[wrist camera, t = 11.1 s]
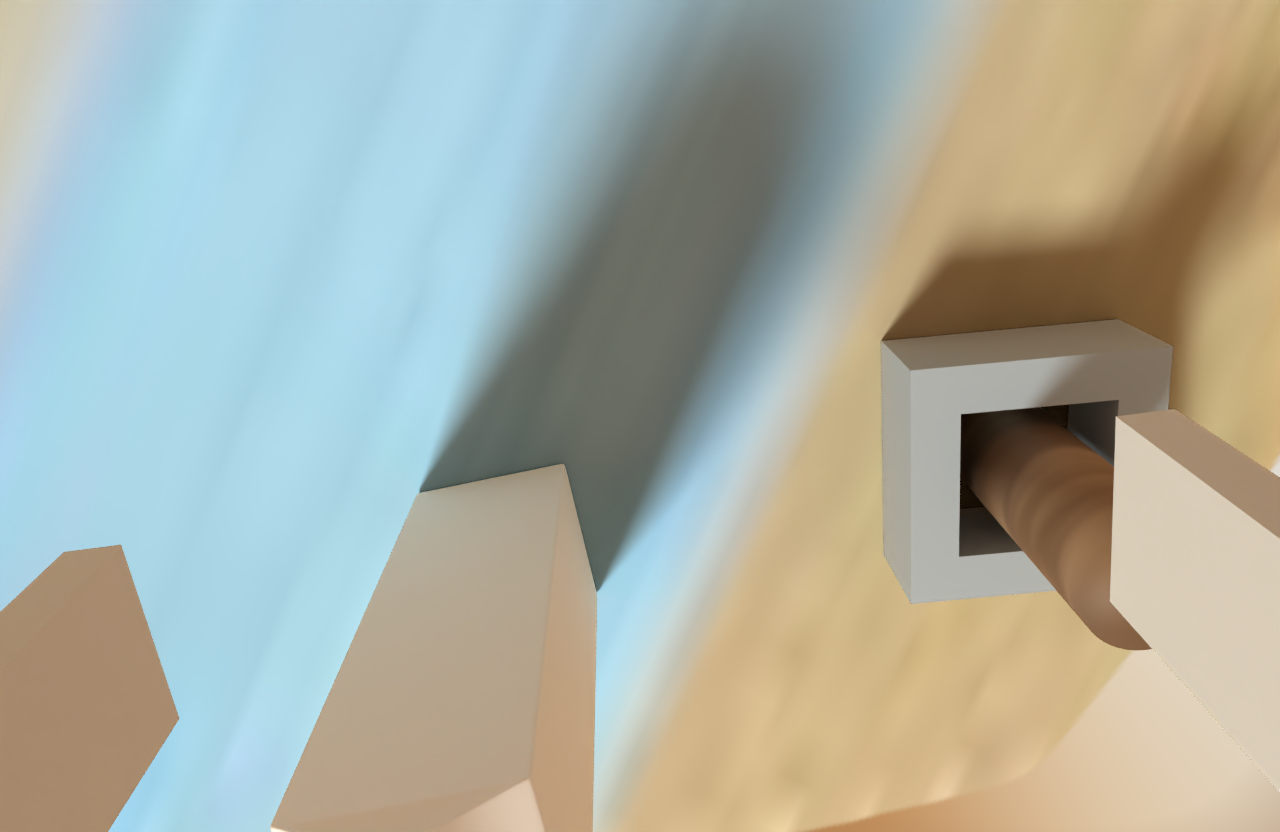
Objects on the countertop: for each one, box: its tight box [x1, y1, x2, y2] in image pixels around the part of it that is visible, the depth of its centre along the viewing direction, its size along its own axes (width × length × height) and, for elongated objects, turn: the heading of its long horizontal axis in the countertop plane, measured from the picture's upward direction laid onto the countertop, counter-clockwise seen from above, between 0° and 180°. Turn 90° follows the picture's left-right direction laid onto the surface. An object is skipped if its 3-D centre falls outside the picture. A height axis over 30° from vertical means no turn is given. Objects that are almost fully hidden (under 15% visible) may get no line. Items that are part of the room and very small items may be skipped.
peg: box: [960, 407, 1152, 650], centre depth 35 cm, size 4×4×12 cm
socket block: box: [881, 319, 1173, 604], centre depth 39 cm, size 9×9×4 cm
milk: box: [271, 464, 597, 832], centre depth 31 cm, size 6×6×22 cm
